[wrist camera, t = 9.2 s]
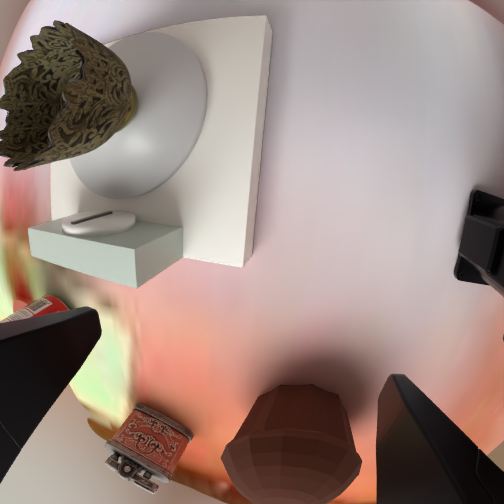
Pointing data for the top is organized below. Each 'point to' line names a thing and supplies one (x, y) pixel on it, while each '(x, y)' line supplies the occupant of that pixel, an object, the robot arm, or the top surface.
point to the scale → (169, 158)
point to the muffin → (293, 448)
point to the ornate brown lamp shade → (64, 98)
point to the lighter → (147, 447)
